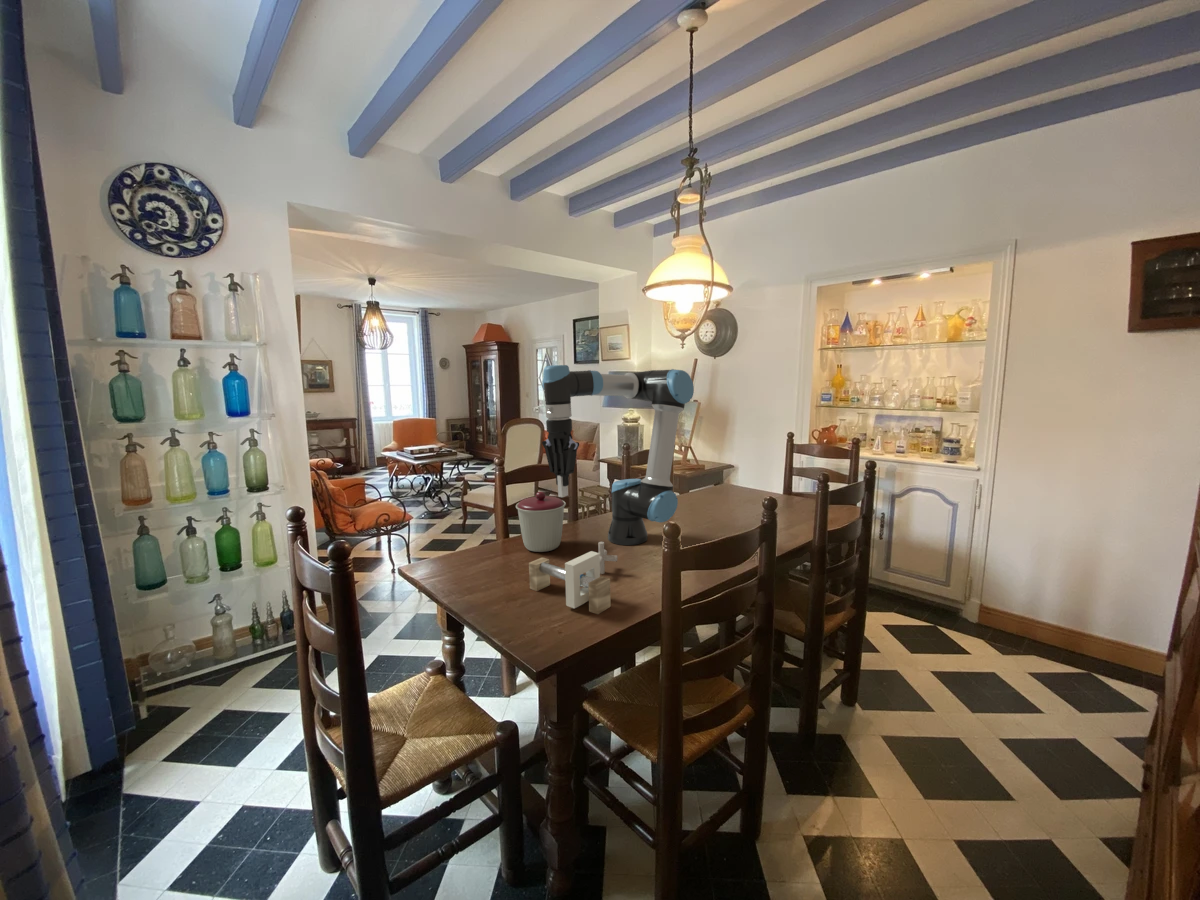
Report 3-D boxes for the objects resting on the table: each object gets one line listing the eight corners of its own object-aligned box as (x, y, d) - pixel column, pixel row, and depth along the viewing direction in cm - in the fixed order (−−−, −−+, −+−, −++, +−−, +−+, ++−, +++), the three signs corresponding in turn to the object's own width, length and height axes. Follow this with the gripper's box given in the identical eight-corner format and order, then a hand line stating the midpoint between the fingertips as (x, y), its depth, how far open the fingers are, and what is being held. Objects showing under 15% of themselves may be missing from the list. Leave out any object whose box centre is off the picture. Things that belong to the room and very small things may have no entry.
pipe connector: (614, 580, 146) (614, 549, 144) (582, 578, 148) (582, 547, 146) (619, 567, 156) (619, 538, 154) (590, 565, 158) (589, 536, 156)
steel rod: (533, 572, 141) (532, 561, 141) (541, 568, 144) (540, 558, 143) (598, 595, 126) (598, 583, 125) (606, 590, 128) (606, 579, 128)
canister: (532, 560, 163) (530, 500, 160) (509, 546, 177) (506, 491, 174) (576, 548, 174) (575, 492, 170) (551, 536, 188) (549, 483, 185)
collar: (566, 605, 128) (564, 563, 126) (592, 590, 137) (591, 551, 135) (574, 608, 126) (573, 565, 125) (600, 593, 135) (599, 553, 133)
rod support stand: (529, 588, 141) (528, 563, 140) (543, 582, 145) (542, 557, 144) (597, 614, 125) (597, 585, 124) (610, 606, 129) (610, 578, 128)
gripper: (533, 419, 141) (538, 496, 145) (567, 420, 133) (571, 502, 137) (551, 416, 147) (555, 490, 151) (584, 417, 139) (587, 495, 143)
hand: (563, 496), depth 144 cm, fingers closed
